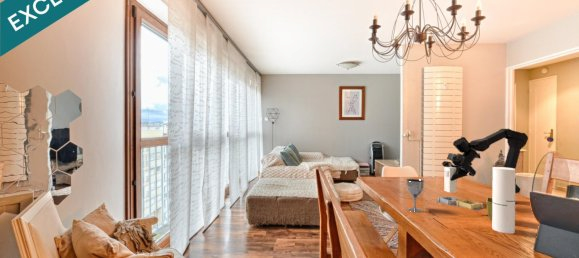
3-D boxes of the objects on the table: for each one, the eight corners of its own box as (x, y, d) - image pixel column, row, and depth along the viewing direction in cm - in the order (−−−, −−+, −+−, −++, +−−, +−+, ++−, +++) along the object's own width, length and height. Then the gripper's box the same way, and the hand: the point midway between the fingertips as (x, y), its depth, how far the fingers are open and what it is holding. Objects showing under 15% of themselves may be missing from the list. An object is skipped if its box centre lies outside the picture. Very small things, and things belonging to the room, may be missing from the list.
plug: (450, 190, 147) (451, 166, 147) (456, 192, 143) (456, 167, 143) (443, 190, 146) (443, 166, 146) (448, 192, 142) (448, 168, 142)
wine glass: (420, 208, 138) (420, 178, 138) (426, 213, 130) (426, 182, 130) (404, 207, 139) (404, 178, 139) (409, 212, 131) (409, 181, 131)
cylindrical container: (519, 234, 104) (519, 170, 104) (498, 232, 106) (498, 169, 105) (508, 227, 111) (508, 167, 111) (488, 226, 113) (489, 166, 112)
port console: (443, 200, 153) (443, 194, 153) (485, 208, 138) (485, 202, 138) (434, 203, 145) (434, 198, 145) (478, 212, 130) (478, 206, 130)
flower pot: (511, 226, 113) (511, 204, 113) (486, 221, 118) (486, 201, 118) (510, 220, 120) (510, 200, 120) (486, 216, 125) (486, 197, 125)
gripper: (444, 146, 154) (427, 166, 153) (471, 149, 136) (451, 171, 134) (457, 160, 156) (439, 179, 154) (484, 164, 137) (465, 187, 136)
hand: (448, 179), depth 145 cm, fingers closed on plug, 4 cm apart
